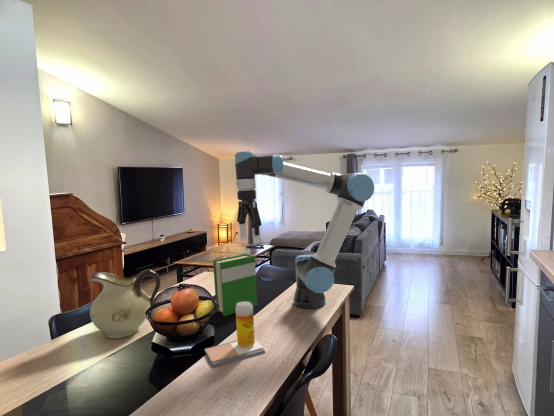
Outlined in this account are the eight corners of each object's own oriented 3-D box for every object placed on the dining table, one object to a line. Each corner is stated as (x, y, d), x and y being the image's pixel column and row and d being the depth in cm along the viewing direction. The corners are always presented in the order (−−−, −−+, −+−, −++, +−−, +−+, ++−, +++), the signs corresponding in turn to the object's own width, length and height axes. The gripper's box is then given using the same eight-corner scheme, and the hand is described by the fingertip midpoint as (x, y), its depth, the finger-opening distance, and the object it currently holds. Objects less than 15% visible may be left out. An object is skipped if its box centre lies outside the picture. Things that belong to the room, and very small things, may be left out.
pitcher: (79, 338, 135) (73, 276, 133) (128, 316, 156) (124, 262, 154) (119, 349, 125) (114, 282, 123) (165, 323, 146) (162, 266, 144)
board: (252, 338, 128) (251, 335, 128) (264, 352, 117) (264, 349, 117) (204, 351, 120) (204, 347, 120) (213, 367, 110) (213, 363, 110)
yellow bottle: (252, 349, 117) (249, 307, 116) (235, 348, 119) (232, 306, 117) (256, 341, 123) (254, 301, 122) (240, 340, 125) (238, 300, 123)
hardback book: (224, 316, 151) (220, 262, 149) (216, 311, 157) (213, 260, 155) (257, 305, 161) (254, 255, 159) (248, 301, 167) (246, 253, 165)
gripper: (227, 190, 149) (230, 238, 150) (249, 190, 127) (253, 247, 128) (243, 189, 152) (246, 236, 154) (268, 189, 130) (271, 244, 132)
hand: (249, 241), depth 141 cm, fingers open, 13 cm apart
